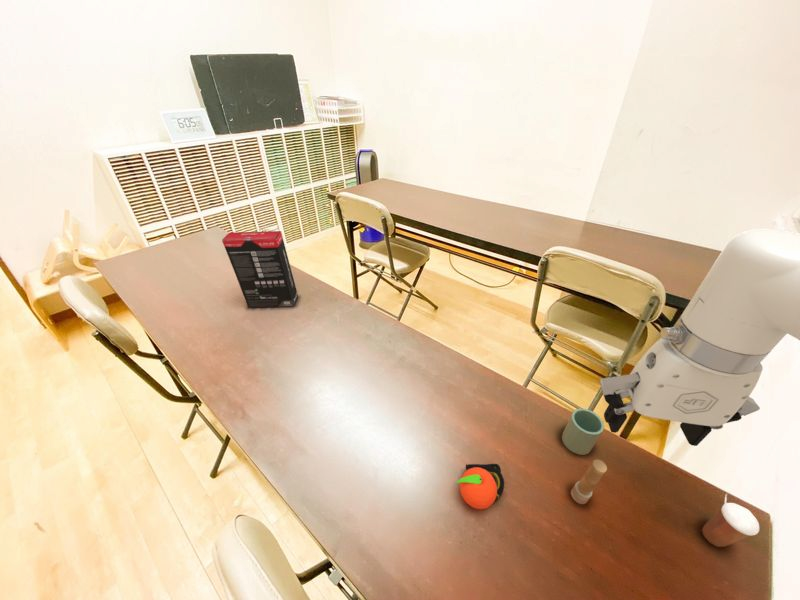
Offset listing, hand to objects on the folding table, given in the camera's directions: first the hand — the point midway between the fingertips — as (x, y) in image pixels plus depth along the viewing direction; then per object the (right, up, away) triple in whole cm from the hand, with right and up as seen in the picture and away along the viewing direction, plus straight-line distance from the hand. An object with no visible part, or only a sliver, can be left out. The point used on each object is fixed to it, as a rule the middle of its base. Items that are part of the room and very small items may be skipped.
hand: (648, 429), depth 46 cm
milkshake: (+20, -23, +12) cm, 33 cm away
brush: (0, -20, +17) cm, 26 cm away
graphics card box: (-81, +17, +72) cm, 109 cm away
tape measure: (-18, -19, +20) cm, 33 cm away
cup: (+4, -13, +26) cm, 30 cm away
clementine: (-21, -20, +18) cm, 34 cm away
